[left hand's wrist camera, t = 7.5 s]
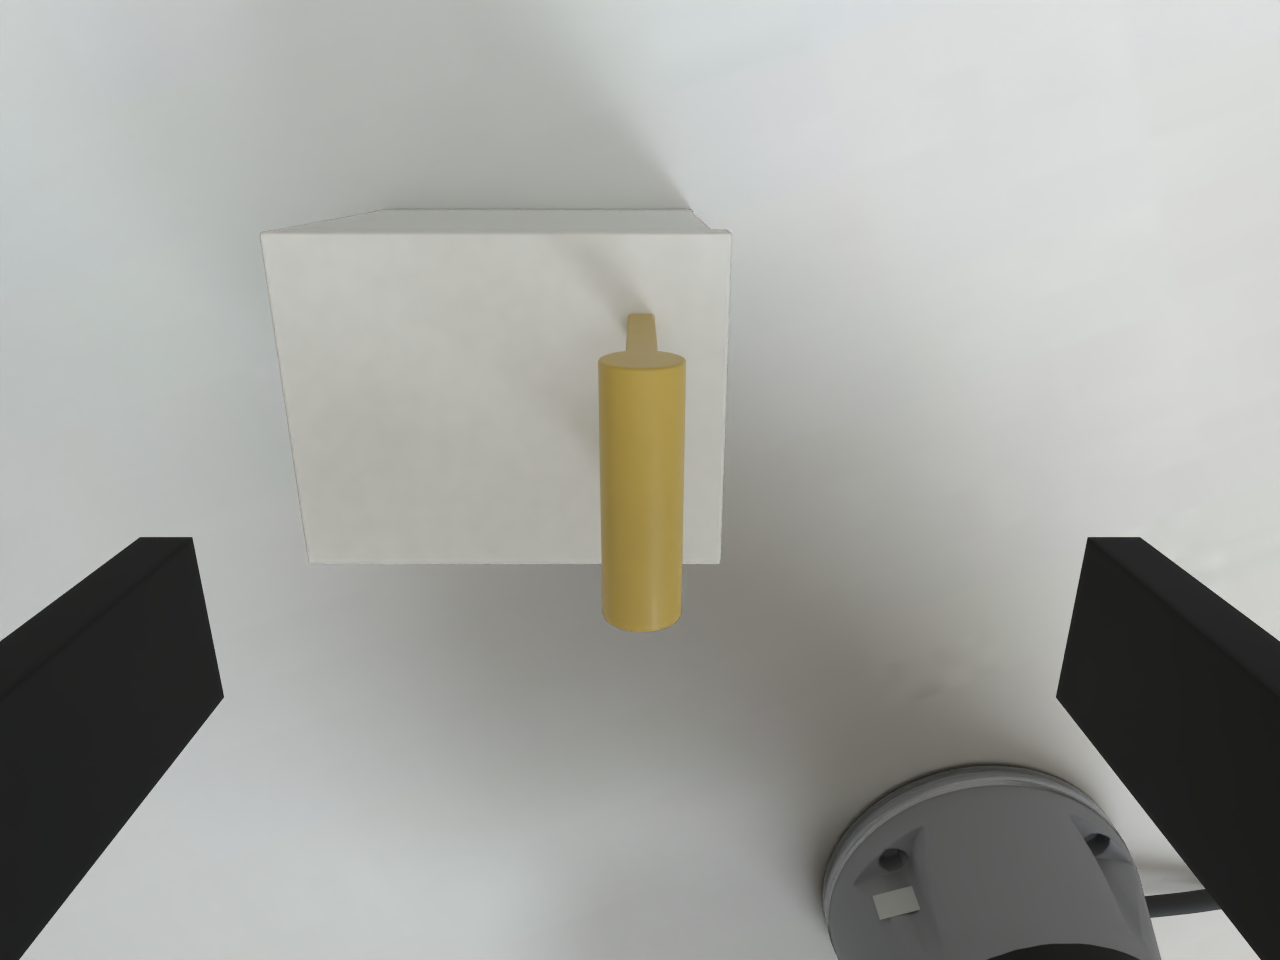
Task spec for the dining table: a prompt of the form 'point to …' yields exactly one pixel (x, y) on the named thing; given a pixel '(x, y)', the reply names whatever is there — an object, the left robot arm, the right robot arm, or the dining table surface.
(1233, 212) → the dining table surface
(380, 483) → the panel with yellow handle
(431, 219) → the chest
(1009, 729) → the dining table surface
